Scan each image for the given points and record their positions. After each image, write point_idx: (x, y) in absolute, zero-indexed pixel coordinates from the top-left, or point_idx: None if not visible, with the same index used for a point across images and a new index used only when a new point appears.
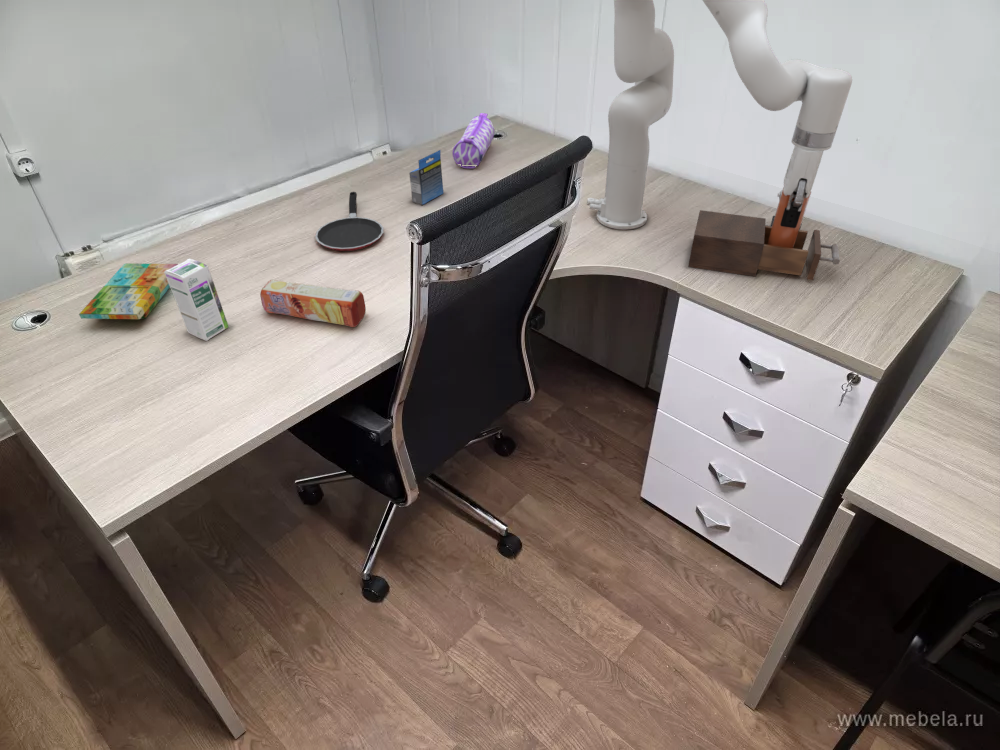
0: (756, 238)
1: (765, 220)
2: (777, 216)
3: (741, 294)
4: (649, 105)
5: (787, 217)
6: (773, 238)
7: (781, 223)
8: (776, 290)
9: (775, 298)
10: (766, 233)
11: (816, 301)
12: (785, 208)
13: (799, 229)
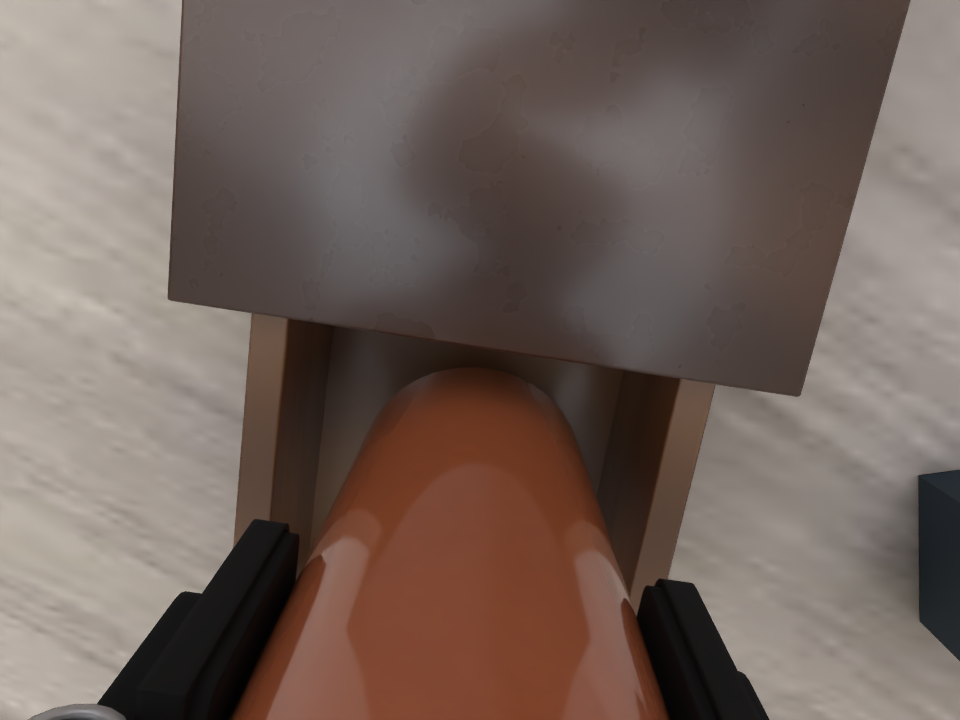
0: (280, 232)
1: (747, 388)
2: (386, 514)
3: (14, 130)
4: None
5: (140, 652)
6: (389, 419)
7: (242, 537)
8: (136, 377)
9: (31, 357)
10: (656, 384)
11: (69, 588)
12: (149, 695)
13: (950, 647)
